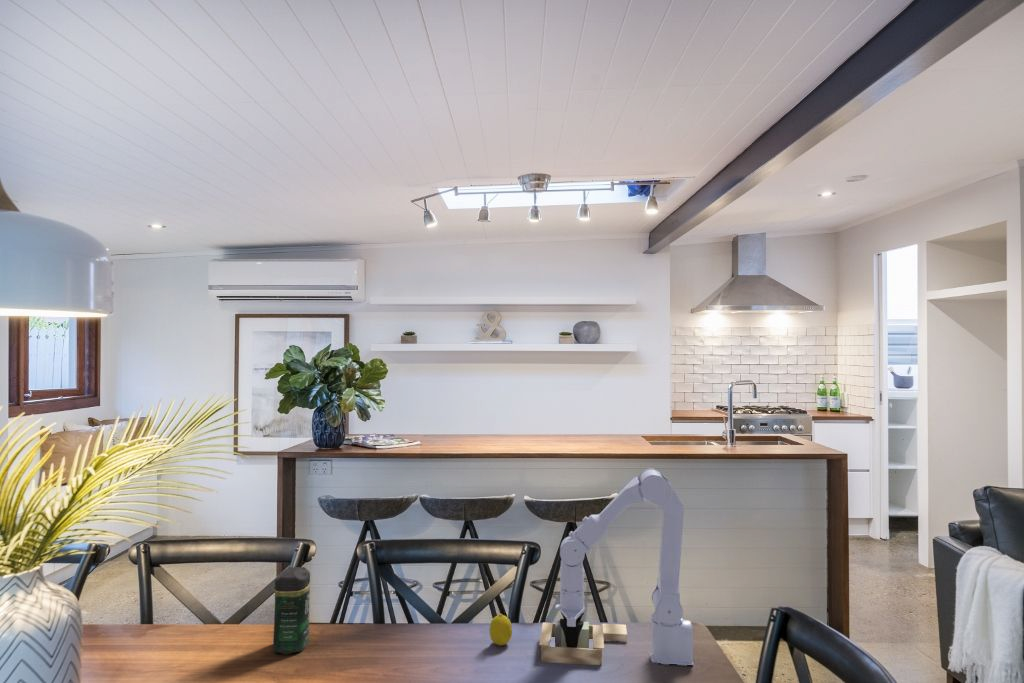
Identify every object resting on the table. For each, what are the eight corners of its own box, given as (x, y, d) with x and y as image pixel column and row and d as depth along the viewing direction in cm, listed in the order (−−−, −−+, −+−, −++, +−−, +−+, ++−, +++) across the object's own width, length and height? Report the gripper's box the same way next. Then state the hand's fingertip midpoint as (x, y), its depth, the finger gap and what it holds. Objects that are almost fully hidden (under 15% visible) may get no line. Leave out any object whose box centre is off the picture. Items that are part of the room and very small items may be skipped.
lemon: (502, 654, 158) (502, 620, 158) (484, 647, 161) (485, 614, 161) (516, 646, 162) (516, 613, 162) (498, 640, 165) (499, 608, 166)
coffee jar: (303, 655, 157) (304, 576, 157) (269, 655, 156) (270, 577, 157) (313, 637, 166) (313, 563, 167) (281, 638, 166) (281, 564, 166)
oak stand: (625, 634, 169) (625, 624, 169) (627, 644, 163) (627, 634, 163) (602, 633, 170) (602, 623, 170) (602, 643, 164) (602, 633, 164)
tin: (588, 646, 160) (588, 621, 160) (588, 655, 156) (588, 629, 156) (555, 645, 161) (556, 620, 161) (555, 653, 157) (555, 627, 157)
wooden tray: (602, 641, 165) (602, 624, 165) (604, 667, 151) (604, 649, 151) (543, 638, 166) (543, 621, 166) (538, 664, 152) (538, 645, 152)
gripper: (556, 577, 166) (556, 631, 166) (554, 598, 152) (553, 657, 152) (584, 578, 166) (584, 632, 165) (584, 599, 151) (584, 659, 151)
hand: (572, 644), depth 158 cm, fingers closed on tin, 4 cm apart
